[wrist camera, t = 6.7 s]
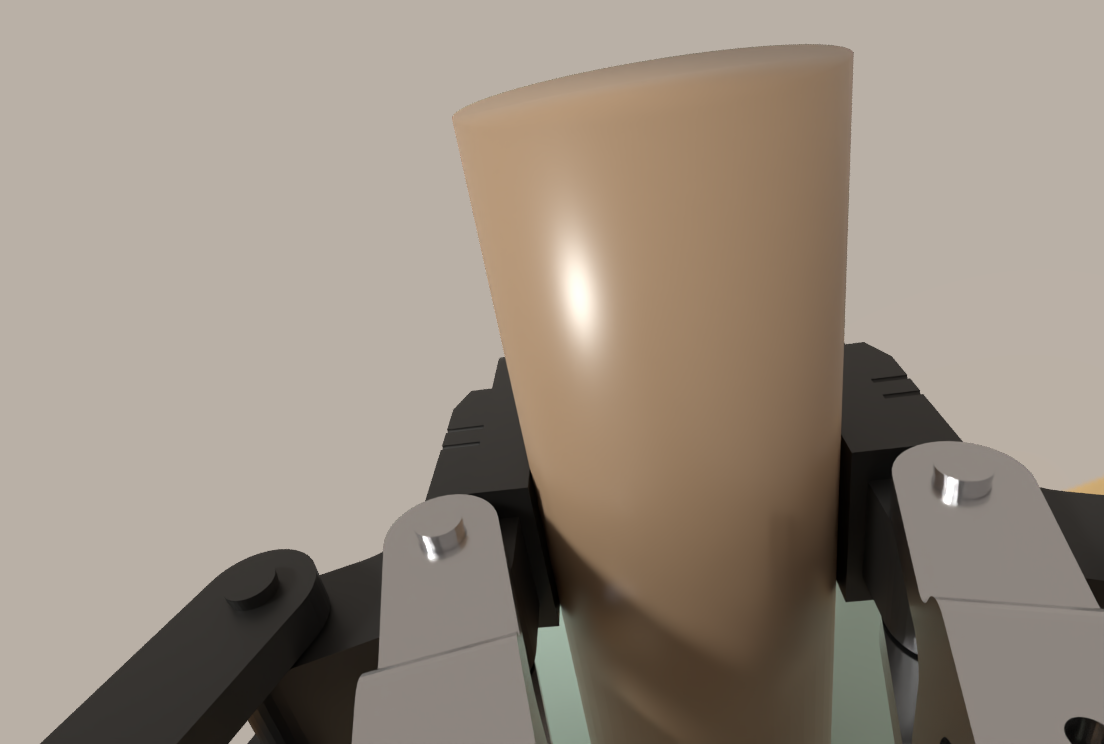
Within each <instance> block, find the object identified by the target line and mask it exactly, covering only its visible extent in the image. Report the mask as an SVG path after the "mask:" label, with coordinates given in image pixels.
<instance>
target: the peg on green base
mask: <svg viewBox="0 0 1104 744" xmlns="http://www.w3.org/2000/svg"><path fill="white" fill-rule="evenodd" d="M853 53H854V52H852V51H851V50H850V49H848V48H845V47H840V46H834V45H818V44H817V45H816V44H815V45H814V44H813V45H812V44H799V45H775V46H761V47H748V48H738V49H729V50H719V51H710V52H702V53H695V54H688V55H680V56H673V57H667V58H660V59H654V60H648V61H642V62H636V63H630V64H625V65H619V66H614V67H608V68H603V69H598V70H593V71H589V72H583V73H579V74H574V75H569V76H565V77H561V78H556V79H552V80H548V81H544V82H540V83H536V84H532V85H528V86H524V87H521V88H517V89H514V90H510V91H507V92H503V93H500V94H497V95H494V96H491V97H488V98H486V99H483V100H480V101H477V102H475V103H473V104H471V105H468V106H466V107H464V108H462V109H461V110H459V111H458V112H456V113H455V114H454V116H453V117H452V120H453V125H454V129H455V134H456V138H457V142H458V147H459V151H460V156H461V161H462V165H463V170H464V174H465V179H466V183H467V188H468V192H469V197H470V201H471V206H472V210H473V215H474V219H475V223H476V228H477V232H478V237H479V242H480V246H481V251H482V255H483V259H484V264H485V269H486V273H487V278H488V282H489V287H490V291H491V295H492V300H493V305H494V309H495V313H496V318H497V323H498V327H499V332H500V336H501V341H502V345H503V350H504V354H505V359H506V363H507V368H508V372H509V377H510V381H511V386H512V390H513V395H514V399H515V404H516V408H517V413H518V417H519V422H520V426H521V431H522V435H523V440H524V444H525V449H526V453H527V458H528V462H529V467H530V471H531V476H532V480H533V485H534V489H535V494H536V498H537V503H538V507H539V512H540V516H541V521H542V525H543V530H544V534H545V539H546V543H547V548H548V552H549V557H550V561H551V566H552V570H553V575H554V579H555V584H556V588H557V593H558V597H559V602H560V620H559V626H555V627H543V628H538V636H537V650H536V657H535V662H536V666H537V669H538V674H539V679H540V683H541V688H542V693H543V698H544V703H545V708H546V713H547V718H548V723H549V728H550V733H551V738H552V743H553V744H895V743H894V736H893V730H892V723H891V717H890V710H889V704H888V698H887V691H886V685H885V678H884V672H883V665H882V659H881V652H880V646H879V633H880V620H881V614H880V612H879V610H878V608H877V606H876V604H875V602H874V600H867V601H855V602H845V600H844V597H843V595H842V593H841V590H840V588H839V586H838V583H837V581H836V571H837V541H838V511H839V480H840V450H841V419H842V389H843V358H844V328H845V297H846V267H847V266H846V265H847V236H848V235H847V234H848V206H849V204H848V203H849V175H850V144H851V115H852V83H853V81H852V80H853Z"/></svg>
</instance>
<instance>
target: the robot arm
mask: <svg viewBox="0 0 1104 744" xmlns="http://www.w3.org/2000/svg"><path fill="white" fill-rule="evenodd" d="M447 430H448V433H446V435H445V439H444V442H443V445H442V446H443V450H441V452H440V455H439V458H438V461H437V465H436V468H435V471H434V474H433V478H432V481H431V484H430V487H429V491H428V494H427V497H426V500H425V502H423V503H421V504H418V505H417V506H415V507H413V508H411V509H410V510H408V511H407V512H405V513H404V514H403V515H402V516H401V517H399V518H398V519H397V520H396V521H395V523H394V524H393V525H392V526H391V528H390V529H389V531H388V532H387V535H386V537H385V540H384V546H383V552H382V553H380V554H378V555H376V556H374V557H371V558H369V559H366V560H363V561H361V562H358V563H355V564H352V565H349V566H346V567H343V568H340V569H337V570H334V571H331V572H328V573H325V574H322V575H319V573H318V571H317V569H316V566H315V564H314V562H313V560H312V559H311V558H310V557H309V556H308V555H306V554H305V553H303V552H300V551H297V550H290V549H279V550H272V551H267V552H264V553H260V554H257V555H254V556H252V557H249V558H247V559H244V560H242V561H240V562H238V563H237V564H235V565H233V566H231V567H230V568H228V569H227V570H225V571H224V572H223V573H221V574H220V575H219V576H217V577H216V578H215V579H214V580H213V581H212V582H211V583H209V585H207V586H206V587H205V588H204V589H203V590H202V591H201V592H200V593H199V594H198V595H197V596H196V597H195V598H194V599H193V600H192V601H191V602H190V603H188V605H186V606H185V607H184V608H183V609H182V610H181V611H180V612H179V613H178V614H177V615H176V616H175V617H174V618H172V619H171V620H170V621H169V622H168V623H167V624H166V625H165V626H164V627H163V628H162V629H161V630H160V631H159V632H158V633H157V634H156V635H155V636H154V637H152V638H151V639H150V640H149V641H148V642H147V643H146V644H145V645H144V646H143V647H142V648H141V649H140V650H139V651H138V652H137V653H136V654H134V655H133V656H132V657H131V658H130V659H129V660H128V661H127V662H126V663H125V664H124V665H123V666H122V667H121V668H120V669H119V670H118V671H116V672H115V674H113V675H112V676H111V677H110V678H109V679H108V680H107V681H106V682H105V683H104V684H103V685H102V686H101V687H100V688H99V689H97V690H96V691H95V693H93V694H92V695H91V696H90V697H89V698H88V699H87V700H86V701H85V702H84V703H83V704H82V705H81V706H80V707H78V708H77V709H76V710H75V711H74V712H73V713H72V714H71V715H70V716H69V717H68V718H67V719H66V720H65V721H64V722H63V723H62V724H60V725H59V726H58V727H57V728H56V729H55V730H54V731H53V732H52V733H51V734H50V735H49V736H48V737H47V738H46V739H45V740H44V741H43V742H41V744H228V743H229V742H230V741H231V740H232V738H233V737H234V736H235V735H236V734H237V732H238V731H239V730H240V729H241V728H242V726H243V725H244V724H245V723H246V722H247V720H248V722H249V723H250V725H251V727H252V729H253V730H254V732H255V735H254V737H253V738H252V739H251V740H250V741H249V743H248V744H553V743H552V738H551V733H550V728H549V723H548V718H547V713H546V708H545V703H544V698H543V693H542V688H541V683H540V679H539V674H538V669H537V666H536V662H535V657H536V650H537V636H538V628H543V627H555V626H559V620H560V602H559V597H558V593H557V588H556V584H555V579H554V575H553V570H552V566H551V561H550V557H549V552H548V548H547V543H546V539H545V534H544V530H543V525H542V521H541V516H540V512H539V507H538V503H537V498H536V494H535V489H534V485H533V480H532V476H531V471H530V467H529V462H528V458H527V453H526V449H525V444H524V440H523V435H522V431H521V426H520V422H519V417H518V413H517V408H516V404H515V399H514V395H513V390H512V386H511V381H510V377H509V372H508V368H507V363H506V359H505V357H502V358H500V359H499V361H498V365H497V370H496V374H495V378H494V383H493V387H492V389H484V390H477V391H471V392H470V393H469V394H468V395H467V396H466V397H465V398H464V399H463V400H462V401H461V403H459V404H458V405H457V407H456V408H455V409H454V410H453V413H452V416H451V419H450V422H449V426H448V429H447ZM836 581H837V583H838V586H839V588H840V590H841V593H842V595H843V597H844V600H845V602H855V601H867V600H874V602H875V604H876V606H877V608H878V610H879V612H880V614H881V620H880V633H879V646H880V652H881V659H882V665H883V672H884V678H885V685H886V691H887V698H888V704H889V710H890V717H891V723H892V730H893V736H894V743H895V744H1104V495H1096V494H1086V493H1075V492H1065V491H1057V490H1050V489H1045V488H1040V487H1039V485H1038V483H1037V481H1036V480H1035V478H1034V476H1033V475H1032V473H1031V472H1030V471H1029V470H1028V469H1027V468H1026V467H1025V466H1024V465H1022V464H1021V463H1020V462H1018V461H1017V460H1015V459H1014V458H1012V457H1010V456H1008V455H1006V454H1004V453H1002V452H999V451H997V450H994V449H991V448H988V447H985V446H981V445H976V444H972V443H965V442H963V441H962V440H961V439H960V438H959V437H958V435H957V434H956V433H955V432H954V431H953V430H952V428H951V427H950V426H949V425H948V423H947V422H946V421H945V420H944V419H943V417H942V416H941V415H940V414H939V413H938V411H937V410H936V409H935V408H934V407H933V405H932V404H931V403H930V402H929V401H928V399H926V397H925V396H924V395H923V394H920V390H919V389H918V388H917V386H916V385H915V384H914V383H913V382H912V380H911V379H907V374H906V373H905V372H904V371H903V369H902V368H901V367H900V366H899V365H898V363H897V362H896V361H895V360H894V359H893V357H892V356H890V355H888V354H886V353H884V352H882V351H880V350H878V349H876V348H874V347H872V346H870V345H868V344H866V343H865V342H862V343H853V344H846V345H845V343H844V358H843V389H842V419H841V450H840V480H839V511H838V541H837V571H836Z"/></svg>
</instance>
